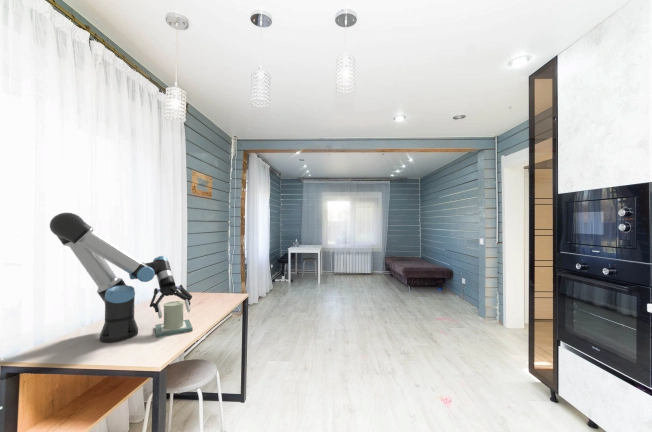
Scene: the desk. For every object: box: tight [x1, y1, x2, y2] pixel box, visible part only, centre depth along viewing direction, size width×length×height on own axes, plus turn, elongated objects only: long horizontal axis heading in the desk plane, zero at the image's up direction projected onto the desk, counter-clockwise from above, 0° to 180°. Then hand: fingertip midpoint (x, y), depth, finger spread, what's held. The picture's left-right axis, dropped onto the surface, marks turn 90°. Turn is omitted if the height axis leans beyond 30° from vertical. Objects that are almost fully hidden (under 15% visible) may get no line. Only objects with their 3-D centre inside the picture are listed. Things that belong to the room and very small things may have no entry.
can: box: [163, 300, 185, 329], centre depth 148 cm, size 9×9×12 cm
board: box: [154, 319, 193, 338], centre depth 148 cm, size 16×16×2 cm
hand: (175, 313), depth 147 cm, fingers open, 13 cm apart
